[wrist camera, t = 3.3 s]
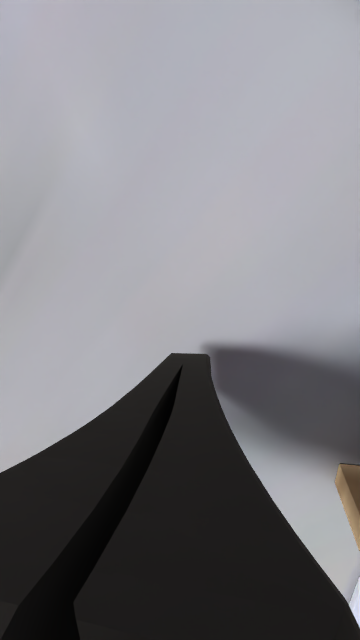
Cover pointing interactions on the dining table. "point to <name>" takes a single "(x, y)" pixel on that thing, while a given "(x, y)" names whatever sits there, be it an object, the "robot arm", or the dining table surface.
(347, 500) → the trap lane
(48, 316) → the dining table surface
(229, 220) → the dining table surface
